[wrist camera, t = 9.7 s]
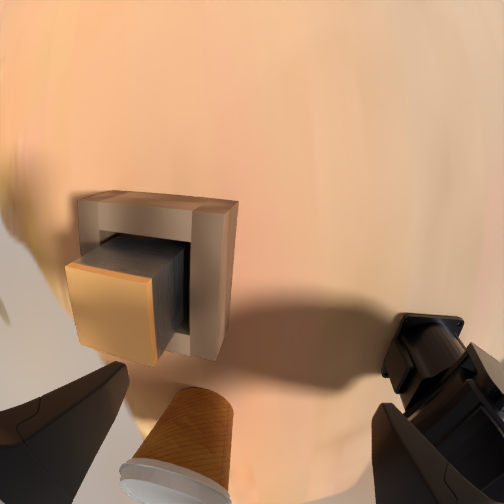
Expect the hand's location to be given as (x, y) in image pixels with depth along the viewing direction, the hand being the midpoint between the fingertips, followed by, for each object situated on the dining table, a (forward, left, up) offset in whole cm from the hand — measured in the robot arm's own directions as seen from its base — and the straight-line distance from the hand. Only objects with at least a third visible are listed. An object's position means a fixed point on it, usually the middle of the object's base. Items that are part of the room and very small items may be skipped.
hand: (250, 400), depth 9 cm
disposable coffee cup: (+5, +17, -13) cm, 22 cm away
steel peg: (+8, +1, -13) cm, 15 cm away
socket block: (+8, +1, -13) cm, 15 cm away
